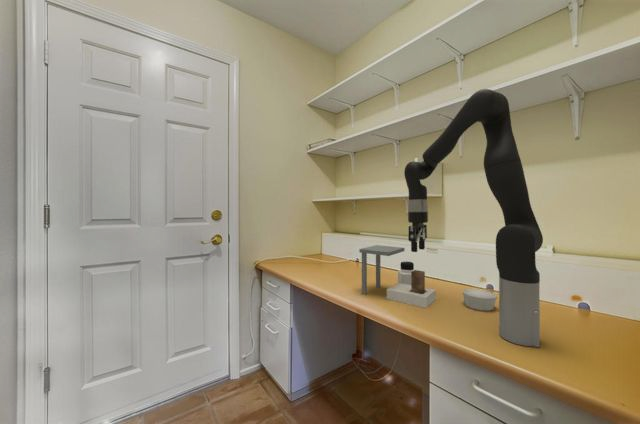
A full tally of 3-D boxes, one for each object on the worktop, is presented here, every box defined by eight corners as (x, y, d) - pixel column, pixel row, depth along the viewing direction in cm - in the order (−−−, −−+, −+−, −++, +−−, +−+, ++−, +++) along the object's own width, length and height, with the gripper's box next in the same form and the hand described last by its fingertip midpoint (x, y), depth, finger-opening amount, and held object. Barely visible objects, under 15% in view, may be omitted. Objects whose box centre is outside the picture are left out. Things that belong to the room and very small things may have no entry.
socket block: (435, 299, 106) (435, 290, 106) (425, 308, 96) (425, 297, 96) (398, 291, 116) (398, 282, 116) (386, 298, 107) (386, 289, 107)
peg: (424, 300, 105) (424, 271, 104) (421, 303, 101) (421, 273, 101) (415, 298, 107) (414, 270, 107) (411, 301, 104) (411, 271, 104)
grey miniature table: (404, 291, 116) (404, 247, 116) (389, 301, 104) (388, 252, 104) (376, 285, 125) (376, 245, 125) (359, 293, 113) (359, 249, 113)
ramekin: (463, 299, 106) (463, 286, 106) (496, 304, 100) (496, 291, 100) (461, 308, 96) (461, 294, 96) (497, 315, 90) (497, 300, 90)
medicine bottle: (417, 288, 120) (417, 263, 120) (402, 288, 120) (401, 263, 120) (412, 284, 127) (411, 260, 127) (397, 284, 127) (397, 260, 127)
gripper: (421, 211, 96) (421, 253, 96) (432, 210, 107) (433, 249, 107) (401, 211, 101) (402, 251, 101) (415, 210, 112) (415, 247, 112)
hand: (418, 250), depth 104 cm, fingers open, 8 cm apart
